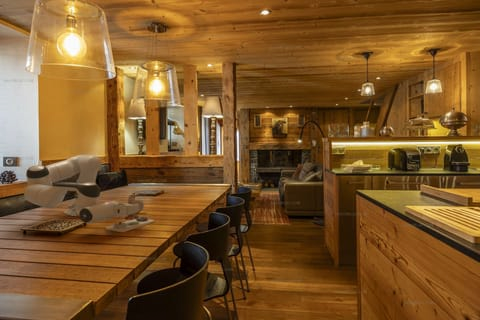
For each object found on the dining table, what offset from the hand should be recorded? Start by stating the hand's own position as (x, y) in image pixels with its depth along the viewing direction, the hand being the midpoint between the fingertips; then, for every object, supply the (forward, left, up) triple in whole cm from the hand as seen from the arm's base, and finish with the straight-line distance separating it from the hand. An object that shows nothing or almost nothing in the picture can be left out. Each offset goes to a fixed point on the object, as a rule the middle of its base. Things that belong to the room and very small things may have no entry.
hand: (132, 205), depth 165 cm
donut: (-22, +24, -12) cm, 35 cm away
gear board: (0, -1, -12) cm, 12 cm away
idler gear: (0, -1, -7) cm, 7 cm away
